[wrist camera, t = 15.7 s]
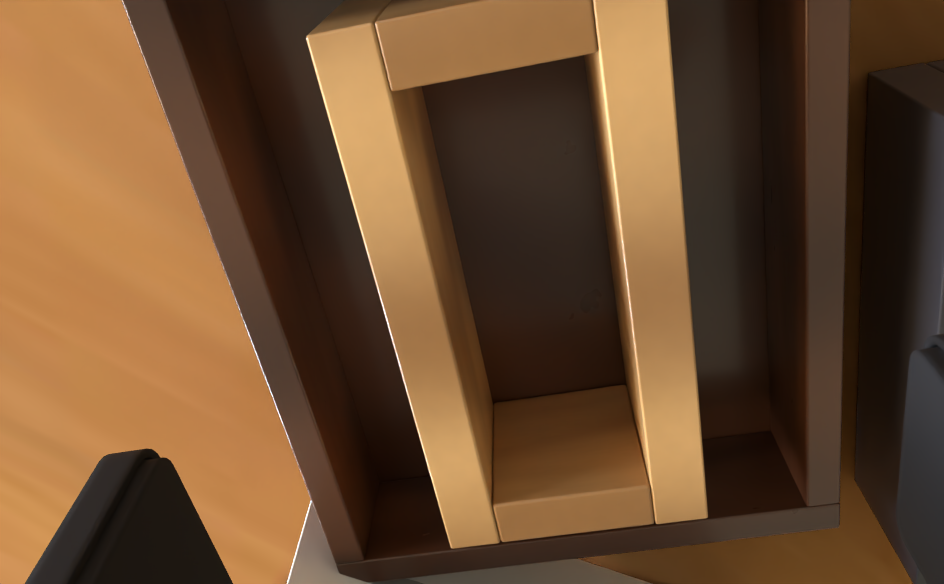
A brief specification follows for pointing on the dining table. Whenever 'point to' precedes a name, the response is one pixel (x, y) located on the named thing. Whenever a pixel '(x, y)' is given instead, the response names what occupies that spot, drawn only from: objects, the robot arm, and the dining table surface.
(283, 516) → the dining table surface
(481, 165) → the holder
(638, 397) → the frame top
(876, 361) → the frame low
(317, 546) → the brochure
